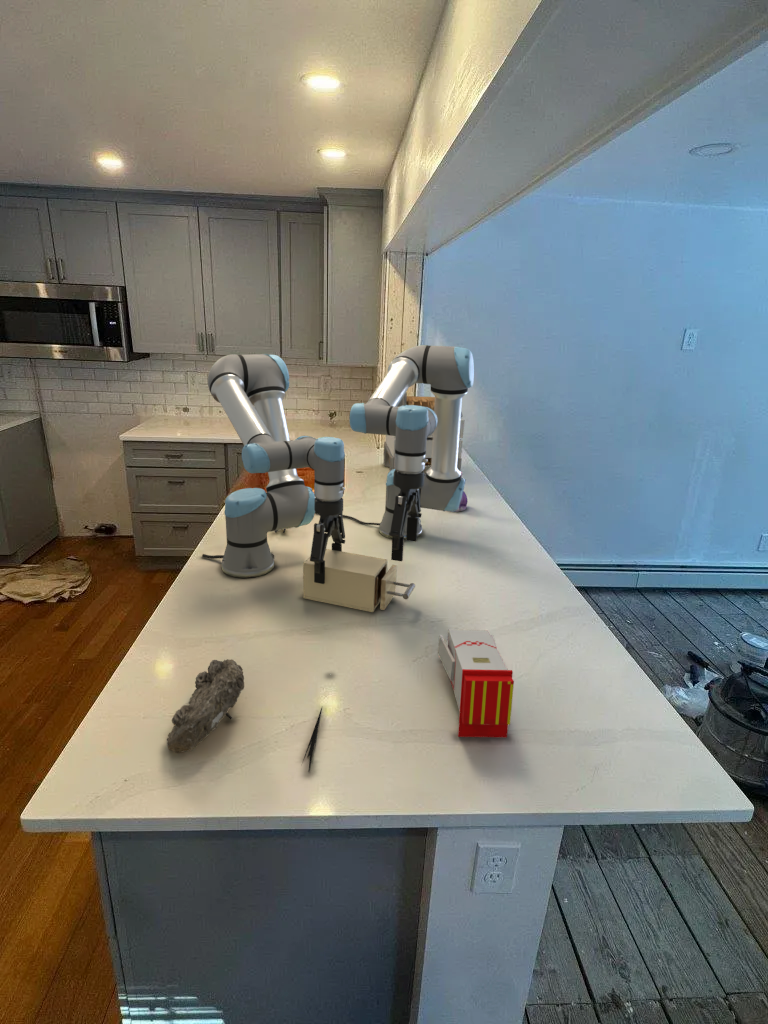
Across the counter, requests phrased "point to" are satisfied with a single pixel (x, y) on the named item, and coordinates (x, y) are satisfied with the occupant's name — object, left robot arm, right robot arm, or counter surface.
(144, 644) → the counter surface
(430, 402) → the transformer
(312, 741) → the feather
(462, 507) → the figurine
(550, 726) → the counter surface
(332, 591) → the cabinet
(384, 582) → the drawer
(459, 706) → the toy
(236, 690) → the fossil
